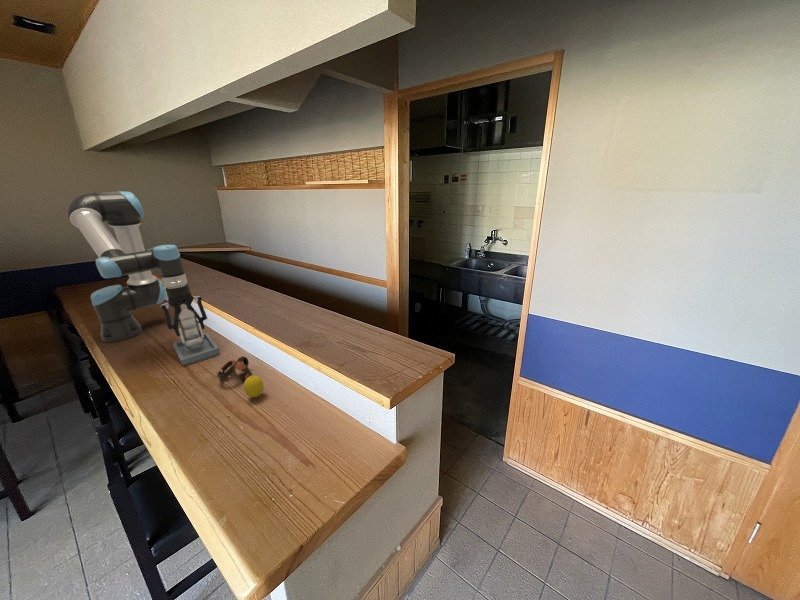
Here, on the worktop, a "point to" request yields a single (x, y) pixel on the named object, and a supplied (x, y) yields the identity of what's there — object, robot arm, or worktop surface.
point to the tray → (196, 351)
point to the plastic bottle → (190, 328)
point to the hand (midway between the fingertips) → (193, 339)
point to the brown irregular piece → (231, 371)
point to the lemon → (253, 386)
